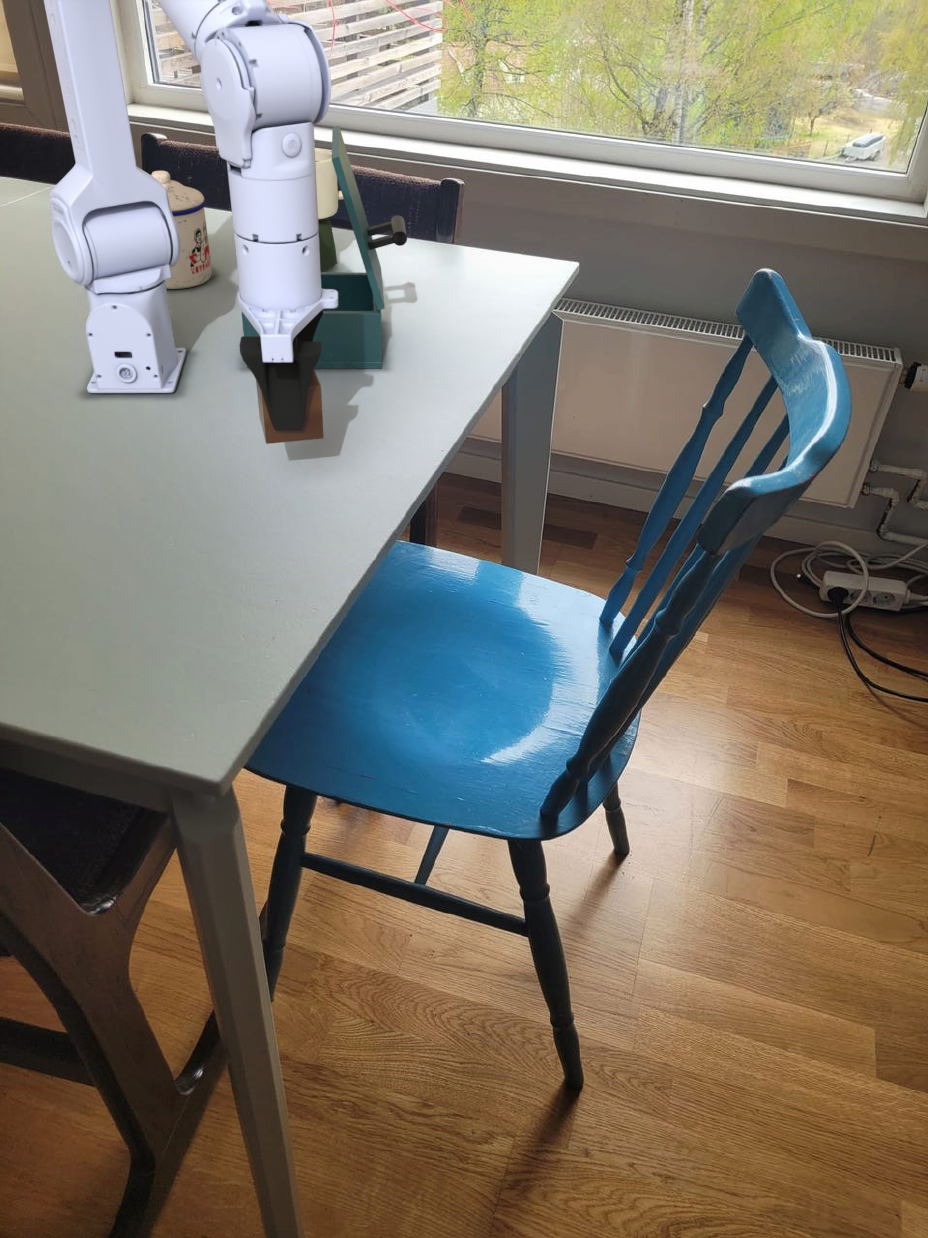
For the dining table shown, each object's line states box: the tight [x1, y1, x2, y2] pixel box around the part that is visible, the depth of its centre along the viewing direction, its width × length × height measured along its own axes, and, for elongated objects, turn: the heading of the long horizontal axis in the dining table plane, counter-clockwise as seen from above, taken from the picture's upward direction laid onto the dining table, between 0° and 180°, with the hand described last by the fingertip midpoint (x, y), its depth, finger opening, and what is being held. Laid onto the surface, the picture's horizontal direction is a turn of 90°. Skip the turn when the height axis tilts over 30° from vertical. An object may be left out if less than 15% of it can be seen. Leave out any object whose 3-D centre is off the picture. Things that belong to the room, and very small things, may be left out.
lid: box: [331, 125, 408, 311], centre depth 93 cm, size 14×11×4 cm
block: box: [255, 368, 325, 445], centre depth 74 cm, size 4×4×4 cm
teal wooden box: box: [241, 271, 383, 369], centre depth 99 cm, size 13×11×6 cm
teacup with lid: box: [150, 170, 213, 290], centre depth 111 cm, size 12×9×12 cm
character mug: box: [315, 147, 344, 272], centre depth 114 cm, size 11×7×13 cm, turn 109°
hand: (289, 411), depth 74 cm, fingers closed on block, 5 cm apart
